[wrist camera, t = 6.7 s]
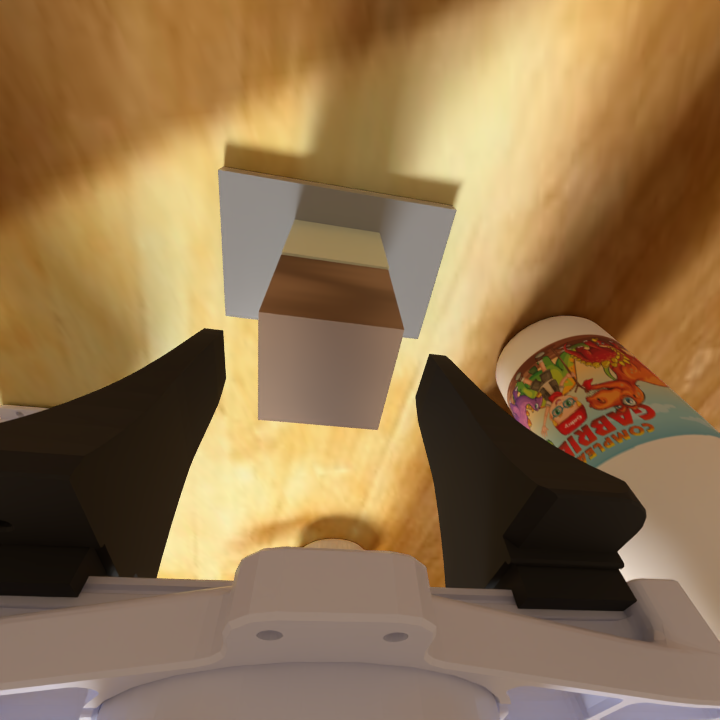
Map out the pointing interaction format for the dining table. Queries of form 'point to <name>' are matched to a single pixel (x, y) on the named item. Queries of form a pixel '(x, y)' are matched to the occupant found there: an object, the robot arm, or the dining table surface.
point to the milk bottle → (626, 445)
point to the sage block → (335, 244)
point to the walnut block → (327, 343)
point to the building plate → (332, 207)
